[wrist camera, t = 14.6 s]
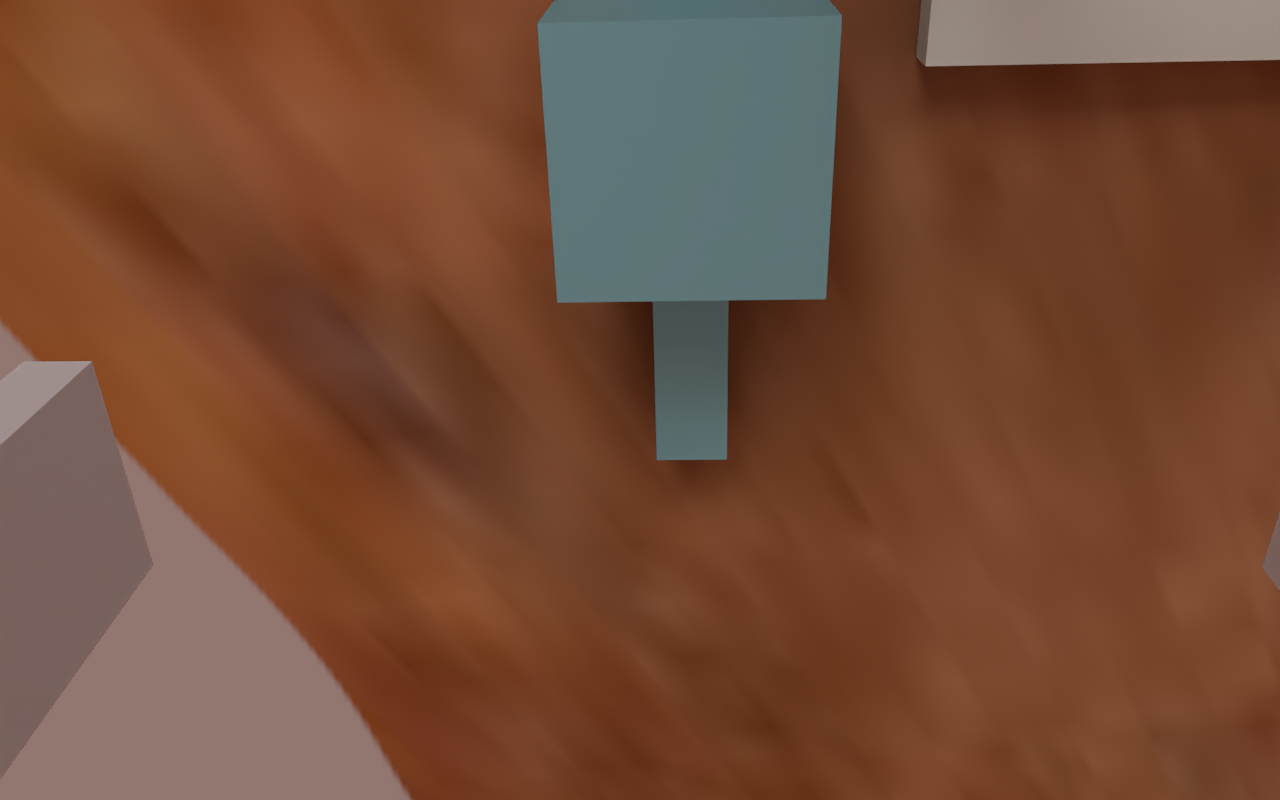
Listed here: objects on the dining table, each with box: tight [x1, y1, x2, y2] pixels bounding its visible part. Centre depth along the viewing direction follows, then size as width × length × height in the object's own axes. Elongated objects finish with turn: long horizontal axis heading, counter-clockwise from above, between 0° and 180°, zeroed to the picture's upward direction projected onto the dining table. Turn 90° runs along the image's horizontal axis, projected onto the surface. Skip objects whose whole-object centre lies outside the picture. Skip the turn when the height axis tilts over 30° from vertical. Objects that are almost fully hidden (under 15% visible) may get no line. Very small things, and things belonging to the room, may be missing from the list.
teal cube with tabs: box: [537, 0, 842, 460], centre depth 25 cm, size 6×19×5 cm, turn 2°
